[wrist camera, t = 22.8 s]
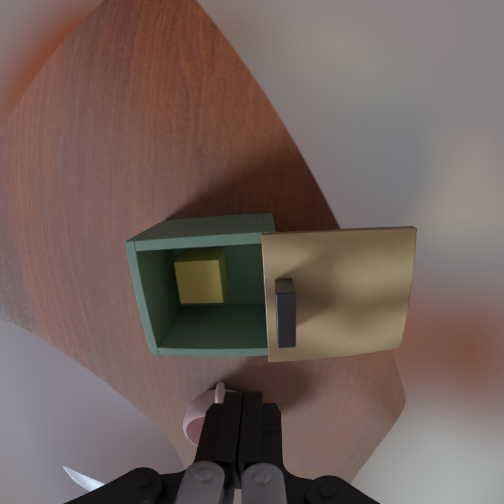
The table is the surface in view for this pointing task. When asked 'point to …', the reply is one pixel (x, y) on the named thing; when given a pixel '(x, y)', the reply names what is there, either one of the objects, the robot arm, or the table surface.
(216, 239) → the case
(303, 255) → the slide door
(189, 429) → the mug
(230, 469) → the robot arm
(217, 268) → the block
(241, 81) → the table surface
